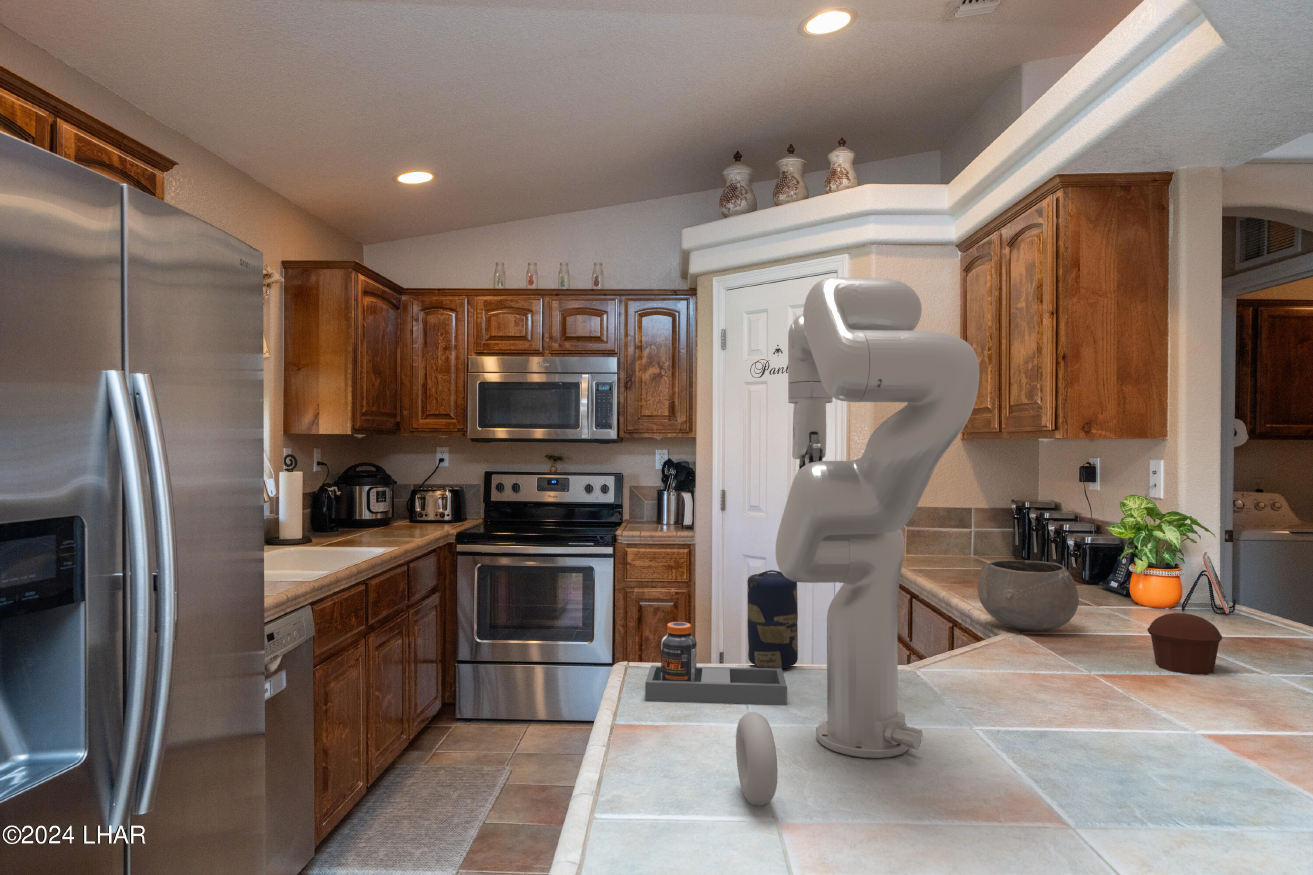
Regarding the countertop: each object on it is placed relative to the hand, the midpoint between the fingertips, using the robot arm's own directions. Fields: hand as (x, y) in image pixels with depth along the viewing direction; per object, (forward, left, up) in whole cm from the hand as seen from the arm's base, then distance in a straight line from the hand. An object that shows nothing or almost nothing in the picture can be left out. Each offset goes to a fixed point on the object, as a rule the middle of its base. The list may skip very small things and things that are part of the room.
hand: (810, 493), depth 130 cm
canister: (+14, -6, -34) cm, 37 cm away
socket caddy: (+8, +15, -33) cm, 37 cm away
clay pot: (-3, -75, -34) cm, 82 cm away
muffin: (-37, -64, -34) cm, 81 cm away
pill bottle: (+13, +19, -33) cm, 40 cm away
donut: (-23, +39, -34) cm, 56 cm away
